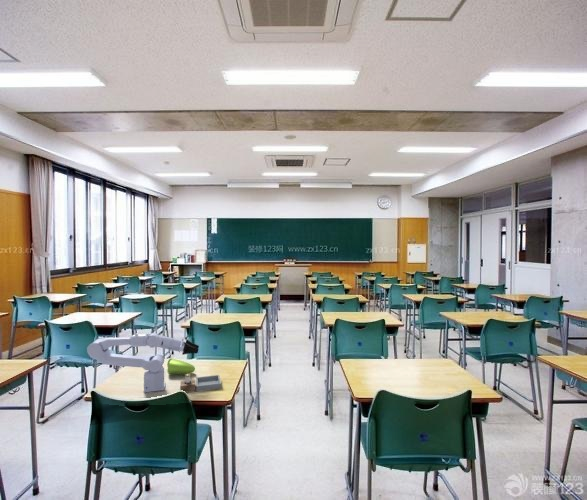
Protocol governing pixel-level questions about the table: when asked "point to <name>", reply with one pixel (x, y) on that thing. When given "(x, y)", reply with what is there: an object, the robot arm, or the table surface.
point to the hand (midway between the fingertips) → (198, 349)
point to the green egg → (179, 367)
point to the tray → (208, 383)
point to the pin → (187, 378)
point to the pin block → (187, 385)
